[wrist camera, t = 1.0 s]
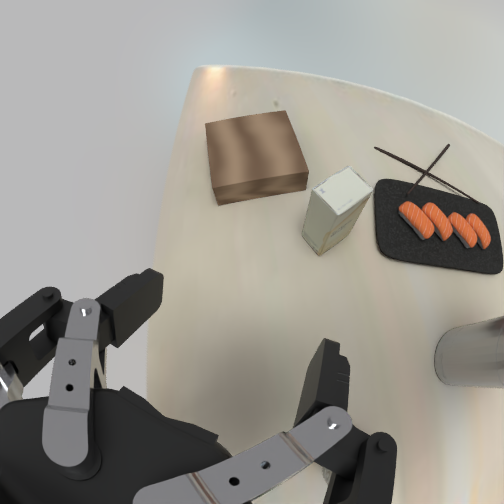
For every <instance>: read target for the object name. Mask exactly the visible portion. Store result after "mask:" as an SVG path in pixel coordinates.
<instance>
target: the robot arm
mask: <svg viewBox="0 0 504 504" xmlns="http://www.w3.org/2000/svg"><path fill="white" fill-rule="evenodd" d="M163 279H164V277H163V274H161V273H159V272H157V271H155V270H153V269H150V268H149V269H146V270H145V271H144V272H142V273H141V274H134V275H130V276H127V277H126V278H125V279H123V280H122V281H121V282H119V283H117V284H116V285H115V286H113V287H112V288H110V289H109V290H108V291H106V292H105V293H103V294H102V295H101V296H99V297H98V298H96V299H95V300H93V299H89V298H84V299H80V300H78V301H76V302H75V303H73V302H69V301H67V300H64V299H62V297H61V292H60V291H59V290H58V289H57V288H55V287H45V288H42V289H40V290H39V291H37V292H36V293H35V294H33V295H32V296H31V297H29V298H28V299H26V300H25V301H24V302H22V303H21V304H19V305H18V306H17V307H15V309H13V310H11V311H10V312H9V313H7V314H6V315H5V316H3V317H2V318H1V319H0V504H252V502H251V501H253V500H255V499H257V498H259V497H260V496H262V495H264V494H266V493H267V492H269V491H271V490H272V489H274V488H276V487H277V486H279V485H280V484H282V483H284V482H285V481H287V480H288V479H290V478H291V477H293V476H294V475H296V474H297V473H299V472H300V471H302V470H303V469H305V468H306V467H307V466H309V465H310V464H312V463H313V462H316V463H318V464H319V465H321V466H323V467H325V468H326V469H328V470H330V471H332V474H331V477H330V481H329V485H328V488H327V492H326V495H325V499H324V502H323V504H391V502H392V495H393V488H394V479H395V469H396V456H397V445H396V442H395V440H394V439H393V438H392V437H391V436H390V435H389V434H387V433H384V432H376V433H374V434H372V435H371V436H370V435H368V434H366V433H364V432H363V431H361V430H359V429H357V428H356V427H355V426H354V425H353V424H352V419H351V417H350V415H349V414H348V413H347V407H348V394H349V379H350V377H349V376H350V365H349V362H348V360H347V358H346V357H345V356H341V355H339V350H340V343H338V342H335V341H332V340H329V339H326V338H324V339H323V340H322V342H321V344H320V346H319V348H318V349H317V351H316V353H315V355H314V356H313V358H312V360H311V362H310V364H309V367H308V369H307V373H306V377H305V382H304V386H303V390H302V395H301V399H300V403H299V407H298V411H297V415H296V418H295V422H294V426H293V429H292V430H290V431H288V432H286V433H285V432H281V433H278V434H276V435H275V436H273V437H271V438H269V439H267V440H266V441H264V442H262V443H260V444H258V445H256V446H254V447H252V448H250V449H248V450H246V451H244V452H242V453H240V454H238V455H236V456H234V457H232V455H231V454H230V453H229V452H228V451H227V450H226V449H225V448H224V447H223V446H222V445H221V444H219V443H218V442H217V439H218V436H219V435H217V434H214V433H212V432H210V431H207V430H205V429H203V428H201V427H198V426H196V425H194V424H190V423H186V422H182V421H178V420H174V419H170V418H167V417H165V416H163V415H162V414H161V413H160V412H158V411H157V410H156V409H155V408H154V407H153V406H152V405H151V404H150V403H149V402H148V401H146V400H145V399H144V398H142V397H141V396H139V395H137V394H136V393H134V392H132V391H131V390H129V389H128V388H126V387H124V386H123V387H122V388H121V389H120V391H117V390H113V389H107V386H106V358H107V356H106V355H107V348H106V347H107V346H108V345H109V344H112V345H113V346H115V347H116V348H118V347H120V346H121V345H122V344H123V343H124V342H125V341H126V340H127V339H128V338H129V337H130V336H131V335H132V334H133V333H134V332H135V331H136V330H137V329H138V328H139V327H140V326H141V325H142V324H143V323H144V322H145V321H147V320H148V319H149V318H150V317H151V316H152V315H153V314H154V313H155V312H156V311H157V310H158V309H159V307H160V305H161V302H162V294H163ZM42 324H43V326H44V329H43V330H42V331H41V332H40V333H38V334H37V335H36V336H35V337H34V338H33V339H32V340H30V341H29V337H30V335H31V333H32V332H33V331H35V330H36V329H37V328H38V327H39V326H40V325H42ZM53 357H55V361H54V366H53V371H52V378H51V385H50V393H49V396H48V397H40V398H32V399H23V398H22V393H23V388H24V387H25V386H26V385H27V384H28V382H30V381H31V379H32V378H33V377H34V376H35V375H36V374H37V373H38V372H39V371H40V370H41V369H42V368H43V367H44V366H45V365H46V364H47V363H48V362H49V361H50V360H52V358H53ZM435 369H436V373H437V375H438V377H439V378H440V380H441V381H442V382H444V383H445V384H448V385H457V386H468V387H484V388H504V316H501V317H498V318H494V319H490V320H487V321H483V322H479V323H475V324H471V325H466V326H462V327H458V328H453V329H451V330H449V331H448V332H447V333H445V335H444V336H443V337H442V338H441V340H440V342H439V344H438V346H437V349H436V353H435Z"/></svg>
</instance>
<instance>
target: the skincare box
mask: <svg viewBox="0 0 504 504" xmlns="http://www.w3.org/2000/svg"><path fill="white" fill-rule="evenodd" d="M372 191H373V189H372V188H371V187H370V186H369V185H368V184H367V183H366V181H365V180H364V179H363V178H362V177H361V176H360V175H359V174H358V173H357V172H356V171H354V170H353V169H352V168H351V167H350V166H347V167H345V168H344V169H342V170H340V171H339V172H337V173H335V174H334V175H332V176H330V177H329V178H327V179H326V180H324V181H323V182H321V183H320V184H318V185H317V186H315V187H314V188H312V192H311V197H310V201H309V206H308V210H307V214H306V219H305V223H304V227H303V231H302V236H303V237H304V239H305V240H306V241H307V242H308V244H309V245H310V246H311V247H312V248H313V250H314V251H315V252H316V253H317V254H318V255H319V256H321V255H322V254H323V253H325V252H326V251H328V250H329V249H330V248H332V247H333V246H334V245H336V244H337V243H338V242H340V241H341V240H342V239H343V238H345V237H346V236H347V235H348V234H349V233H350V231H351V229H352V228H353V226H354V224H355V222H356V221H357V219H358V217H359V215H360V213H361V212H362V210H363V208H364V206H365V204H366V202H367V201H368V199H369V197H370V195H371V193H372Z"/></svg>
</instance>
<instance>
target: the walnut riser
mask: <svg viewBox="0 0 504 504" xmlns="http://www.w3.org/2000/svg"><path fill="white" fill-rule="evenodd" d="M205 127H206V136H207V146H208V155H209V164H210V172H211V181H212V188H213V191H214V194H215V197H216V200H217V203H218V205H223V204H229V203H234V202H239V201H244V200H250V199H255V198H261V197H266V196H272V195H278V194H284V193H290V192H296V191H303V190H306V185H307V179H308V174H309V170H308V167H307V165H306V162H305V159H304V157H303V154H302V151H301V148H300V146H299V143H298V141H297V138H296V135H295V133H294V130H293V128H292V125H291V123H290V120H289V118H288V116H287V113H286V111H277V112H269V113H262V114H255V115H249V116H243V117H237V118H231V119H226V120H221V121H216V122H211V123H206V124H205Z"/></svg>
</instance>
